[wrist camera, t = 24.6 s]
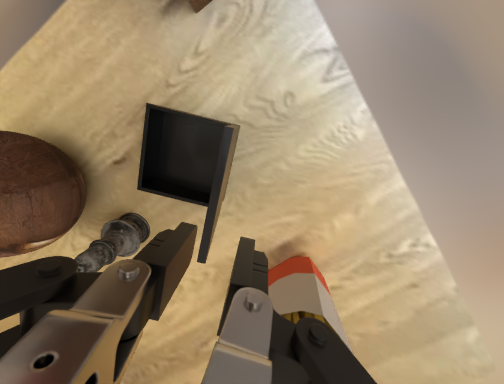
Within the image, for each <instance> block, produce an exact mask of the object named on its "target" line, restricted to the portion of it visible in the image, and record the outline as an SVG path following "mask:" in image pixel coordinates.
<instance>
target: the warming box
mask: <svg viewBox="0 0 504 384" xmlns="http://www.w3.org/2000/svg"><path fill="white" fill-rule="evenodd" d="M228 125H235V124H231V123H227V122H223V121H219V120H215V119H211V118H207V117H203V116H199V115H195V114H191V113H187V112H183V111H179V110H175V109H171V108H167V107H163V106H158V105H154V104H149V103H146V112H145V122H144V131H143V141H142V150H141V159H140V169H139V178H138V187H137V190H141V191H145V192H149V193H153V194H158V195H162V196H166V197H170V198H174V199H178V200H182V201H186V202H190V203H194V204H198V205H202V206H206V207H208V204H209V199H210V194H211V189H212V184H213V179H214V174H215V169H216V164H217V159H218V154H219V149H220V144H221V139H222V134H223V129H224V126H228ZM236 126H238V132H237V136H236V141H235V145H234V150H233V155H232V159H231V164H230V169H229V173H228V178H227V182H226V187H225V192H224V196H223V200H224V198H225V193H226V188H227V184H228V179H229V175H230V170H231V166H232V161H233V156H234V152H235V147H236V143H237V138H238V133H239V129H240V126H239V125H236ZM222 202H223V201H222Z"/></svg>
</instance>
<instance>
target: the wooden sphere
mask: <svg viewBox="0 0 504 384" xmlns="http://www.w3.org/2000/svg"><path fill="white" fill-rule="evenodd" d="M85 201H86V186H85V182H84V179H83V176H82V174H81V172H80V170H79V169H78V167H77V166H76V164H75V163H74V162H73V161H72V160H71V159H70V158H69V157H68V156H67V155H66V154H65V153H64V152H62V151H61V150H60V149H58V148H57V147H55V146H53V145H51V144H50V143H48V142H46V141H43V140H41V139H38V138H36V137H32V136H29V135H25V134H21V133H16V132H9V131H0V257H9V256H16V255H21V254H25V253H29V252H32V251H35V250H38V249H40V248H43V247H45V246H47V245H49V244H51V243H53V242H54V241H56V240H58V239H59V238H60V237H62V236H63V235H64V234H66V233H67V232H68V231H69V230H70V229H71V228H72V227H73V226H74V224H75V223H76V222H77V220H78V219H79V217H80V215H81V214H82V211H83V209H84V206H85Z"/></svg>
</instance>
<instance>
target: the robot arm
mask: <svg viewBox="0 0 504 384" xmlns="http://www.w3.org/2000/svg"><path fill="white" fill-rule="evenodd" d="M196 234H197V225H193V224H189V223H185V222H181V223H180V225H179V226H178V227H177V228H176V229H175V230H170V229H167V230H165V231H162V232H160V233H158V234H157V235H156V236H155V237H154V238H153V240H151V241H150V242H149V243H148V244H147V245H146V246H145V247H144V248H143V249H142V250H141V251H140V252H139V253H138V254H137V255H136V256H135V257H134V258H133V259H126V260H121V261H118V262H115V263H113V264H111V265H110V266H109V267H108V268H107V269H106V270H105V271H104V272H78V263H77V262H76V261H75V260H74V259H72V258H69V257H64V256H53V257H46V258H41V259H38V260H34V261H31V262H27V263H24V264H20V265H17V266H13V267H10V268H6V269H3V270H0V320H2V319H5V318H7V317H10V316H12V315H14V314H17V313H19V312H20V324H19V325H17V326H15V327H13V328H11V329H8V330H6V331H4V332H2V333H0V384H120V382H121V380H122V378H123V376H124V374H125V371H126V369H127V367H128V365H129V363H130V361H131V359H132V356H133V354H134V352H135V350H136V348H137V346H138V344H139V341H140V339H141V337H142V333H143V328H144V327H145V325H146V323H147V322H148V320H149V319H152V320H156V321H158V320H159V318H160V316H161V315H162V313H163V311H164V309H165V307H166V306H167V304H168V302H169V300H170V299H171V297H172V295H173V293H174V291H175V290H176V288H177V286H178V284H179V282H180V281H181V279H182V277H183V275H184V274H185V272H186V270H187V268H188V266H189V264H190V261H191V258H192V254H193V249H194V244H195V239H196ZM254 248H255V240H253V239H249V238H245V237H241V238H240V241H239V245H238V249H237V253H236V257H235V261H234V265H233V269H232V274H231V278H230V282H229V286H228V290H227V295H226V299H225V303H224V307H223V312H222V316H221V320H220V324H219V329H218V333H217V335H218V336H219V339H218V342H216V344H215V346H214V349H213V351H212V354H211V357H210V360H209V363H208V365H207V368H206V371H205V374H204V377H203V379H202V382H201V384H377V383H376V382H375V381H374V380H373V378H372V377H371V376H370V375H369V373H368V372H367V371H366V370H365V369H364V367H363V366H362V365H361V364H360V362H359V361H358V360H357V359H356V358H355V356H354V355H353V354H352V353H351V351H350V350H349V349H348V348H347V347H346V345H345V344H344V343H343V342H342V340H341V339H340V338H339V337H338V336H337V334H336V333H335V332H334V331H333V330H332V329H331V328H330V327H329V326H328V325H327V324H325V323H324V322H322V321H320V320H318V319H316V318H312V317H304V318H301V319H299V320H298V321H297V323H296V324H295V323H294V322H292V321H290V320H288V319H286V318H284V317H282V316H281V315H280V314H278V313H277V312H276V311H275V310H274V309H273V303H272V301H271V299H270V298H269V293H268V259H267V257H266V256H265V254H264V253H263V252H259V251H255V250H254Z"/></svg>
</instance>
